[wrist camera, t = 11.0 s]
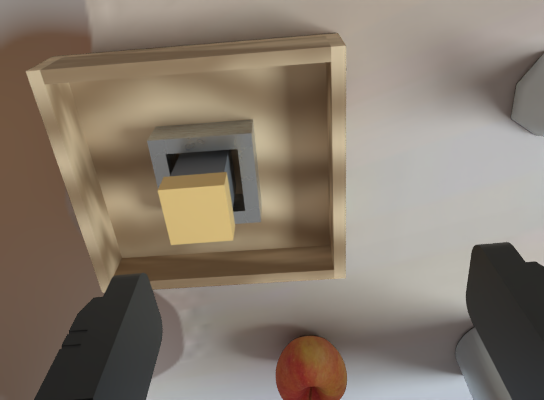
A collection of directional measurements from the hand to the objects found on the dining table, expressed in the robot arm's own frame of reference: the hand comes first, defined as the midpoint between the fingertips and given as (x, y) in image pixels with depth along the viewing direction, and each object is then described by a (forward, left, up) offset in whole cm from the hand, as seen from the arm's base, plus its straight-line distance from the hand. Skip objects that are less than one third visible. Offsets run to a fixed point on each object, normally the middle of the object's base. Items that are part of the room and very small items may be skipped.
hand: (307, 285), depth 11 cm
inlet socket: (-9, +7, -27) cm, 30 cm away
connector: (-9, +7, -27) cm, 29 cm away
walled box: (-9, +7, -27) cm, 30 cm away
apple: (-32, -1, -28) cm, 42 cm away
